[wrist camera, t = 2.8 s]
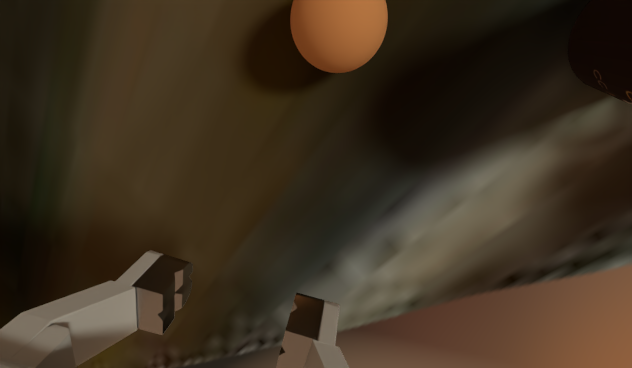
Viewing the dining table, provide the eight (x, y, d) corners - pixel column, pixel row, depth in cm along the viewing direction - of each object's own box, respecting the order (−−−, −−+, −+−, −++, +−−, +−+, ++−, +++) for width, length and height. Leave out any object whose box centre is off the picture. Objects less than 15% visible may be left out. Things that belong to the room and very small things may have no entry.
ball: (310, -36, 20) (289, -61, 15) (397, -15, 19) (406, -33, 14) (293, 58, 22) (271, 63, 17) (371, 77, 22) (371, 89, 17)
